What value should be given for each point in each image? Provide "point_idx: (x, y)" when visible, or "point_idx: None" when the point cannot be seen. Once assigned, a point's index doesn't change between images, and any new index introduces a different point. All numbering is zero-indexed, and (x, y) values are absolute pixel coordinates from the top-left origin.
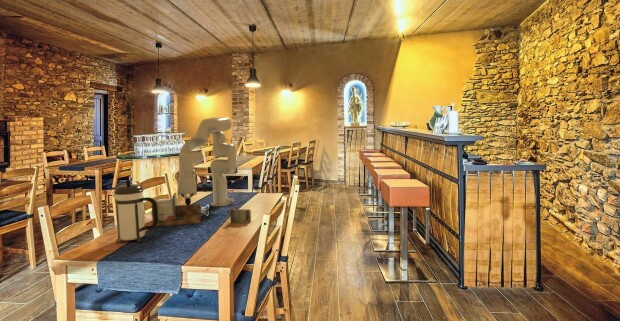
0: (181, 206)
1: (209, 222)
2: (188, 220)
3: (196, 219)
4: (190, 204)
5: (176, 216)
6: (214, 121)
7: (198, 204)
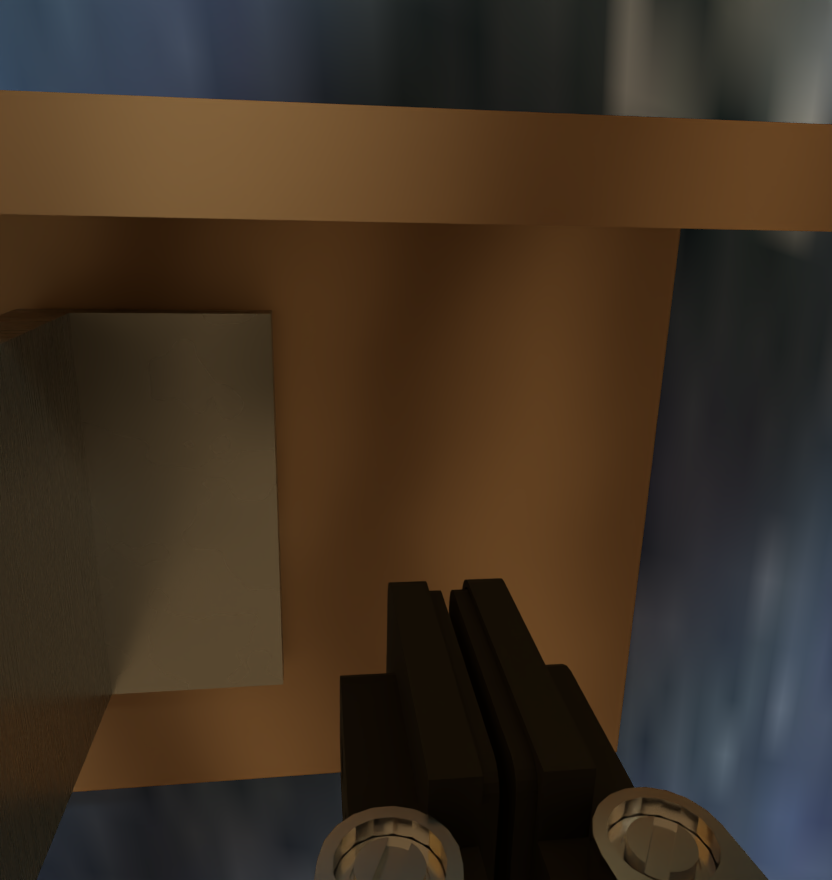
0: (120, 214)
1: (760, 716)
2: None
3: None
4: (486, 125)
5: (90, 560)
6: None
7: (788, 228)
